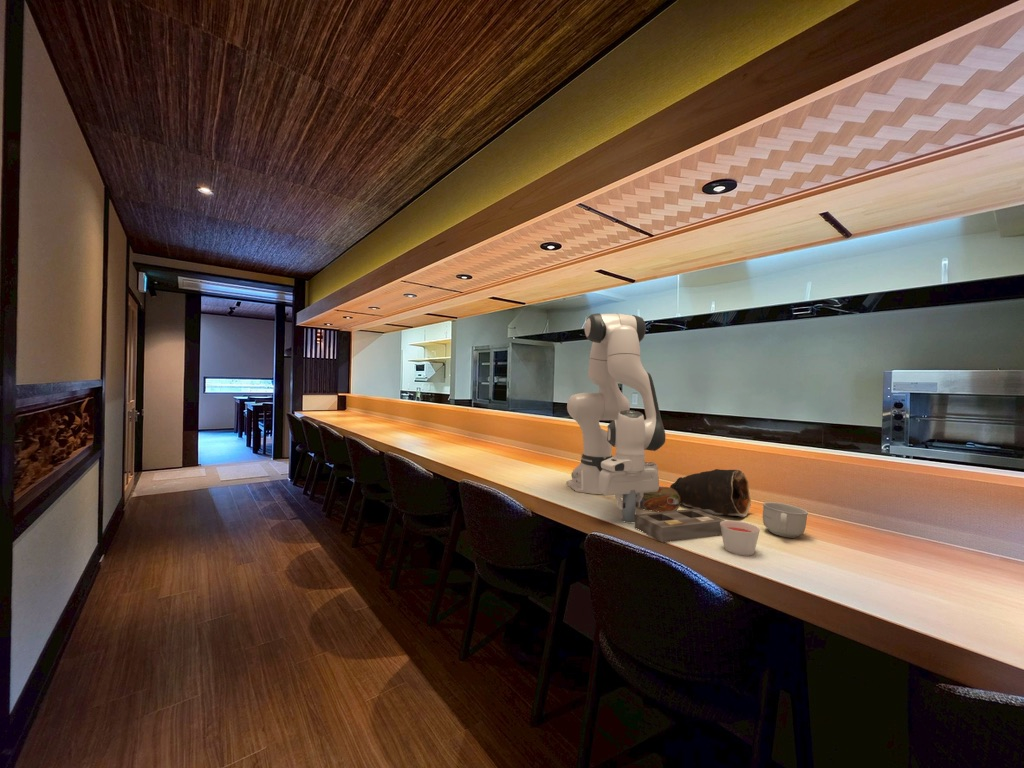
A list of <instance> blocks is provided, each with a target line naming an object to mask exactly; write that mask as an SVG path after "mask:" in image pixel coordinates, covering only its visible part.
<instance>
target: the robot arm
mask: <svg viewBox="0 0 1024 768" xmlns="http://www.w3.org/2000/svg"><path fill="white" fill-rule="evenodd" d="M646 328H647V326H646V322H645V320H644V318H643V317H641V316H639V315H634V314H632V315H630V314H623V313H600V312H599V313H592V314H589V316H587V318H586V321H585V323H584V335H585V337H586V339H587V340H588V341H590V342H592V344H591V347H590V355H589V361H588V370H587V375H588V379H589V381H591V382H592V383H594V384H595V385H597V386H598V392H580V393H579V392H578V393H574V394H572V395H571V396H569V399H568V400H567V405H566V409H567V410H566V411H567V414H569V416H570V418H572V419H573V420H574V421H575V422H576V423H577V424H578V425H579V427H580V430H581V432H582V433H581V434H582V438H583V439H582V442H583V444H582V445H583V453H582V454H581V456H580V462H579V464H578V465H577V466H576V467H575V468H574V469H572V472H571V479H570V480H566V483H565V484H566V485H568V486H569V487H570V489H572V490H573V491H574V490H575V491H574V492H576V493H586V494H592V495H603V496H605V497H606V496H614V498H615V500H616V501H617V507H618V509H621V510H622V509H624V508H625V503H624V502H622V499H623V494H630V492H631V490H635V493H636V495H637V497H636V508H639V507H640V502H641V500H642V498H643V494H644V493H649V492H657V491H658V490H659V486H660V479H659V478H660V477H659V466H658V465H657V464H656V463H655V462H654V461H651V462H646V452H645V451H652V452H653V451H654V452H656V451H658V450H659V449H661V448H662V447H663V446H664V445H665V443H666V437H667V436H666V430H665V427H664V424H663V419H662V417H661V412H660V408H659V403H658V397H657V392H656V388H655V385H654V380H653V377H652V375H651V374H650V373H649V372H648V371H646V370H645V367H644V366H643V363H642V360H641V359H642V358H641V347H640V345H641V344H640V342H641V341H643V339H644V338H645V335H646V331H647V330H646ZM618 383H619V384H621V385H623V386H627V387H629V388H632V389H633V390H635V391H637V392H638V393H639V395H640V396H641V398H642V403H643V408H644V413H645V416H644V414H643V412H640V411H639V410H638V411H637V410H636V411H635V410H633V409H631V410H630V408H631V406H630V401H629V399H628V398H627V396H625V394H623V393H622V391H621V390H620V387H619V384H618ZM600 421H611V422H610V423H608V425H607V430H605V429H603V428H602V427H601V425H600ZM613 447H614V448H616V450H615V455H614V456H613V455H612V449H613Z"/></svg>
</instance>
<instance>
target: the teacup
mask: <svg viewBox="0 0 1024 768" xmlns="http://www.w3.org/2000/svg"><path fill="white" fill-rule="evenodd" d="M762 505H763V507H762V509H763V510H762V523H763V525H764V526H765V528H766V529H768V531H769V532H770V533H772V534H774V535H777V536H781V537H783V538H790V539H791V538H792V539H793V538H797V537H799V536H802V535H803V534H804V533H805V531H806V528H807V527H806V526H807V520H808V514H809V512H808V510H806V509H804V508H801V507H798V506H796V505H793V504H787V503H783V502H775V501H774V502H773V501H766V502H763V503H762Z"/></svg>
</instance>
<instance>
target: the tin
mask: <svg viewBox="0 0 1024 768" xmlns="http://www.w3.org/2000/svg"><path fill="white" fill-rule="evenodd" d="M636 497H637V495H636ZM680 506H681V503H680V496H679V494H678V493H677V491H675V490H674V489H672V488H670V486H663V485H662V486H661V485H659V490H658V491H657V492H649V493H644V494H643V498H642V500H641V502H640V507H638V508H640V510H643V509H645V510H644V511H649V510H652V511H651V512H656V511H659V512H664V511H675V510H679V508H680Z"/></svg>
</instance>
